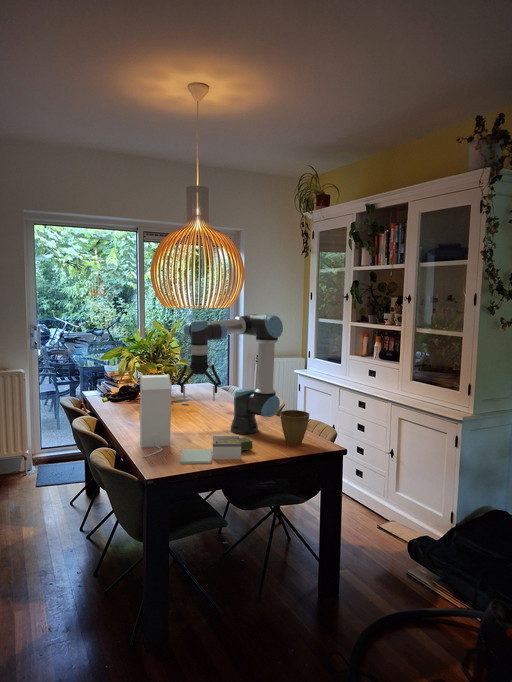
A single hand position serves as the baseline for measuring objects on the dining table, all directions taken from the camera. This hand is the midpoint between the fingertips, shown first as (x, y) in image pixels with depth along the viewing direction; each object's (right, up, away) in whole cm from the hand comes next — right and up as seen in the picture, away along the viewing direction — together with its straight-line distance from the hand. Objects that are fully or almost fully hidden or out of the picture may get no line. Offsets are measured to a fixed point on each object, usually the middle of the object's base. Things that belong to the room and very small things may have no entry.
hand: (199, 400), depth 229 cm
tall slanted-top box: (-23, -25, +16) cm, 38 cm away
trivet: (-1, -27, +1) cm, 27 cm away
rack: (+12, -26, +9) cm, 30 cm away
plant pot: (+46, -26, +26) cm, 58 cm away
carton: (+10, -28, +9) cm, 31 cm away
